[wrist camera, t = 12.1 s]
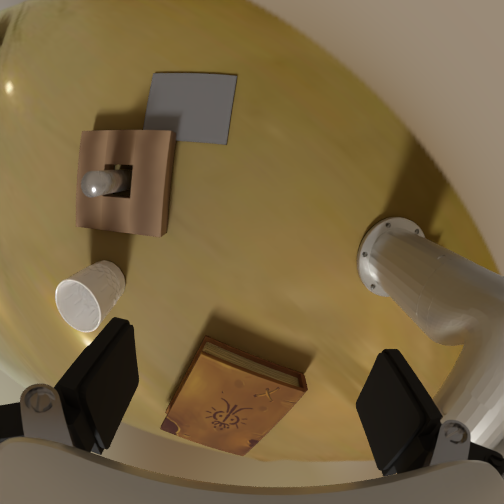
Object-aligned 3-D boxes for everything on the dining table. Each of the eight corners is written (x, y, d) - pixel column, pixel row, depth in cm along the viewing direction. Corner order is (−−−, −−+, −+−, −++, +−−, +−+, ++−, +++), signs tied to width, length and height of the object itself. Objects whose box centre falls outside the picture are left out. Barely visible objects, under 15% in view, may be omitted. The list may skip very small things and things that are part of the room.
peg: (136, 169, 36) (102, 171, 27) (134, 190, 37) (100, 198, 28) (118, 168, 36) (81, 170, 27) (116, 189, 37) (80, 196, 27)
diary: (246, 437, 52) (245, 456, 47) (166, 409, 50) (160, 429, 45) (304, 372, 46) (308, 394, 41) (206, 333, 44) (200, 354, 39)
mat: (237, 76, 33) (236, 75, 32) (226, 144, 36) (226, 144, 35) (154, 74, 32) (153, 73, 32) (142, 139, 35) (141, 138, 35)
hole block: (177, 133, 35) (171, 130, 32) (166, 232, 39) (160, 237, 36) (92, 133, 34) (82, 131, 32) (86, 222, 38) (76, 226, 36)
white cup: (98, 304, 42) (69, 334, 33) (82, 261, 40) (47, 284, 31) (135, 297, 42) (109, 329, 32) (119, 251, 40) (86, 274, 30)
